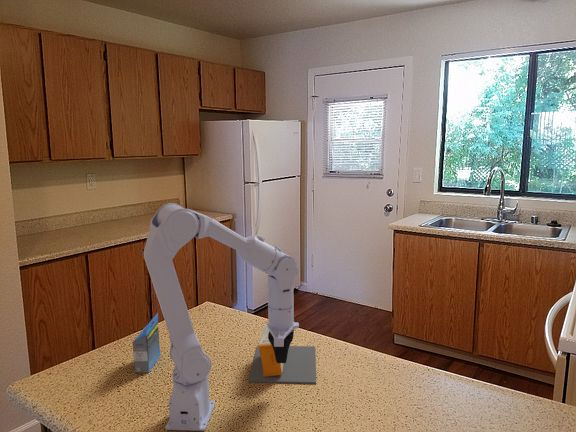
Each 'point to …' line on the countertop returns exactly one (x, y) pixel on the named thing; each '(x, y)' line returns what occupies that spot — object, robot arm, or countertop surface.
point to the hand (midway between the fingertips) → (281, 361)
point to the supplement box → (268, 356)
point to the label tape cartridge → (147, 347)
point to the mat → (289, 367)
